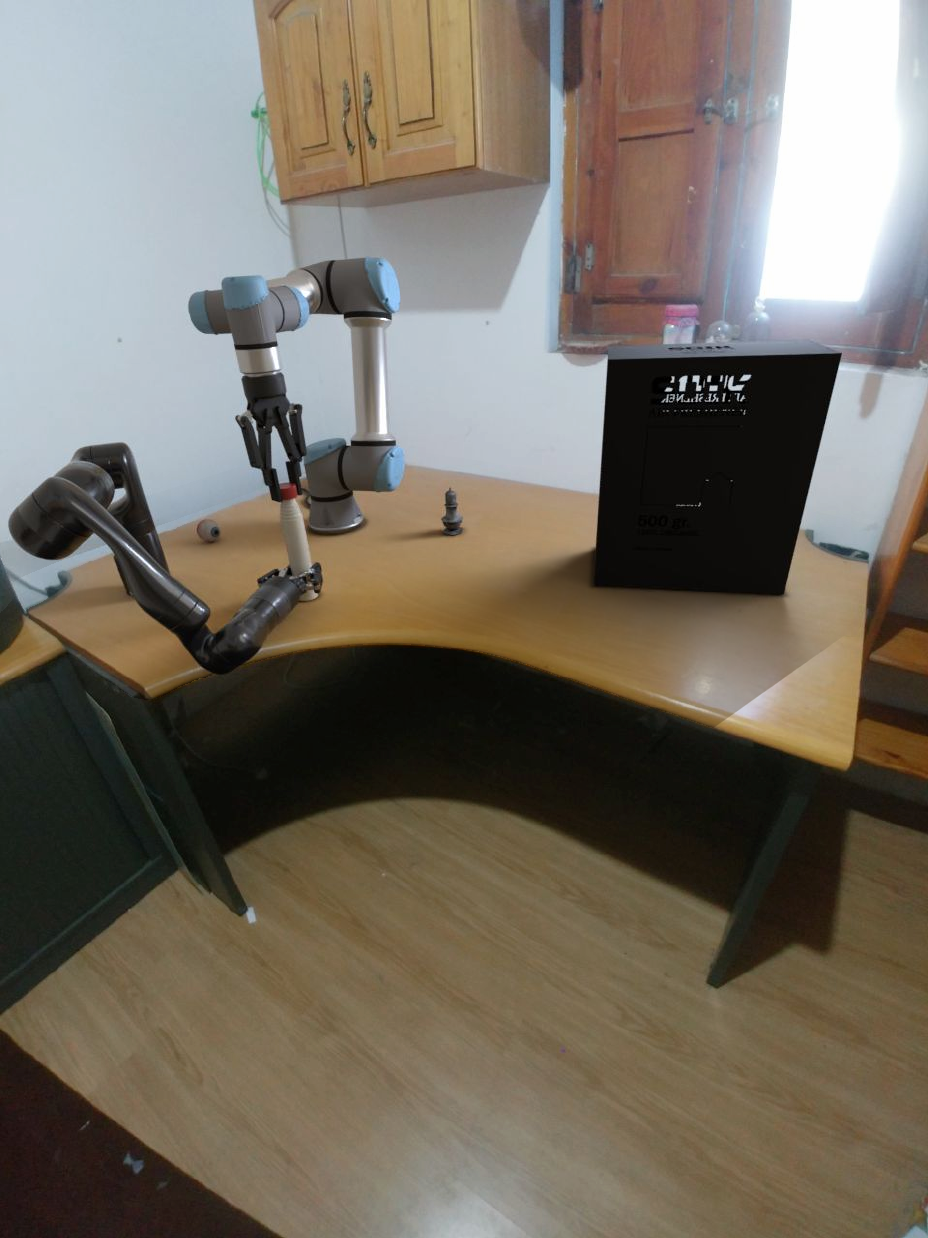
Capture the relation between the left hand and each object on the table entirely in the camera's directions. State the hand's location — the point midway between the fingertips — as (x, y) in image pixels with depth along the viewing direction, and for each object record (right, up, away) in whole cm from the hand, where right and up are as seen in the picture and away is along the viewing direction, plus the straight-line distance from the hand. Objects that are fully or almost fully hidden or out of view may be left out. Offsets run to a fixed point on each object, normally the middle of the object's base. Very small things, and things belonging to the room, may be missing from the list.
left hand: (307, 565), depth 132 cm
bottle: (0, -7, +1) cm, 7 cm away
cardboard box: (+83, -1, +3) cm, 83 cm away
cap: (-1, +15, -12) cm, 19 cm away
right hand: (-1, +13, -10) cm, 17 cm away
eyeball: (-34, +9, +32) cm, 48 cm away
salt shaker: (+31, +12, +29) cm, 44 cm away
